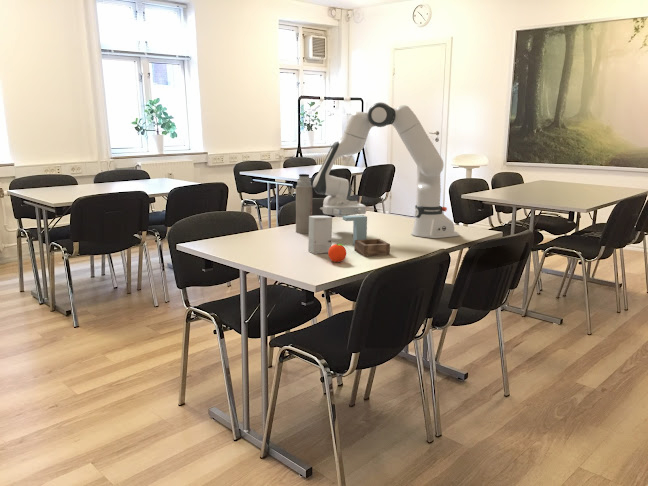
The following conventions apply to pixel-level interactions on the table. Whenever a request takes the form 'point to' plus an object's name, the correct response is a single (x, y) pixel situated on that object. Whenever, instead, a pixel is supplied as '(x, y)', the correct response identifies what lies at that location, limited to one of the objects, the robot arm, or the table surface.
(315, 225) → the skincare box
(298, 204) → the thermos bottle
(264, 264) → the table surface
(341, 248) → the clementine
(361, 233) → the bracket
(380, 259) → the table surface
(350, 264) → the table surface
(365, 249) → the well block
